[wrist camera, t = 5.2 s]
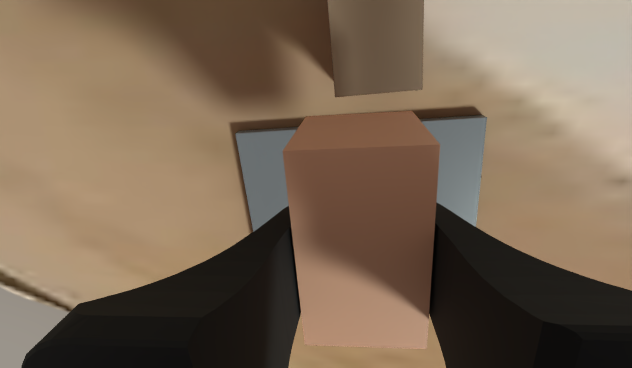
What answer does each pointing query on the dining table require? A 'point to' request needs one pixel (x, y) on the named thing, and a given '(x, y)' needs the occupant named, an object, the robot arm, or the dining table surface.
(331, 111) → the dining table surface
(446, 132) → the grey flat square slab
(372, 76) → the walnut brick
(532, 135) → the dining table surface
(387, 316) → the terracotta brick
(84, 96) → the dining table surface
